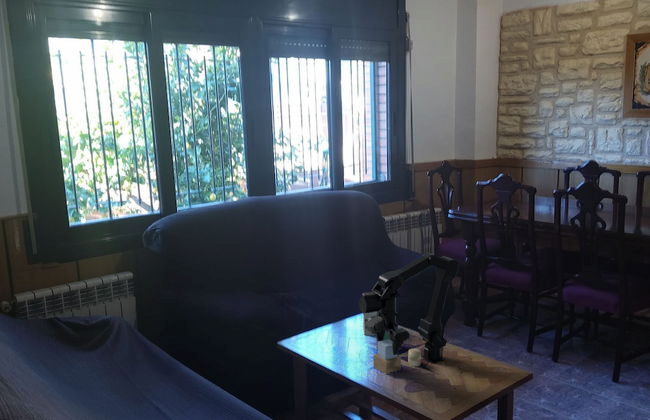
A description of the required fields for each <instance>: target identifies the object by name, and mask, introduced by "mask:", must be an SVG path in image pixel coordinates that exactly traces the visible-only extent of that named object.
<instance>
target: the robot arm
mask: <svg viewBox="0 0 650 420" xmlns="http://www.w3.org/2000/svg"><path fill="white" fill-rule="evenodd" d="M431 266H432V267H435V268H434V272H435V277H436V280H435V285H434V289H433V291H432V292H433V293H432V295H431V300H430V303H429V308H428V311H427V315H426V316H425V318H420V320H419V325H418V327H417V329H418V334H419V335H420V337H421V339H422V341H424V347H423V355H422V354H421V358H422V359H424V360H425V361H428V362H430V363H431V364H435V363H437V362H442V361H445V360H446V357H444V356H443V355H444V354H443V353H444V347H446V346H447V343H448V341H447V339H446V338H445V337H444V336H442V330H443V326H442V322H441V318H442V314H443V311H444V307H445V303H446V298H447V295H448V290H449V286H450V284H451V282H452V281H453V280H454V279H455V278H456V276H457V274H458V271H459V267H460V265H459V262H458V261H457V260H455V259H453V258H450V257H447V256H445V255H442V256H440V257H439V256H437V255H435V254H433V253H430V252H425V253H423V254H422V255H421V256H419V257H417V258H416V259H414V260H413V261H411V262H409V263H407V264H406V265H404V266H402V267H401V268H398V269H396V270H395V269H394V270H390V271H387V272H384V273H381V274H380V275H379V276H378V279H377V281H376V283H375V284H374V286H373V287H372V289H371V292H373V293H369V292H368V293H369V294H363V293H362V295H361V297H360V299H359V301H358V305H359V306H358V307H359V310H360V313H362V314H365V313H371V312H377V311H378V312H377V316H373V317H369V318H368V320H367V322H366V323H365V324H366V327H367V330H368V331H369V332H371V333H372V334H375V335H374V336H375V337H376V338H377V341H378V342H379V341H383V339H384V334H385V330H387V331H389V332H390V333H389V336H390V340H391V341H392V347H393V355H396V354H397V355H398V353H399V350H400V349H401V347H402V345H403V343H404V342H405V341H406V340H408V339H410V332H409V331H408V330H407V329H405V328H403V327H399V323H398V322H397V321H396V319H397V316H399V312H398V311H397V298H400V297H402V296H403V295H402V294H401V293H400V292H399V290H400V289H401V288H402V287H403V285H404V284H405V282H406V281H408V280H409V279H411V278H413V277H415V276H417V275H418V274H420V273H421V272H423V271H425V270H427V269H428V268H430V267H431ZM396 326H398V329H396V328H395V327H396Z"/></svg>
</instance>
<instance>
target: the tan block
mask: <svg viewBox="0 0 650 420" xmlns="http://www.w3.org/2000/svg"><path fill="white" fill-rule="evenodd" d="M401 361H402V356H400V355H398V354H397V357H395V358H391V359H387V360H385V359H383V358H382V357H380V356H379V355H378V353H375V354H373V368H374V367H375V368H374V369H376V370H377V369H378V370H377V371H379V370H380V372H381V371H382V372H381V373H383V374H384V373H385V374H384V375H388V373H389V374H391V373H390V372H392V373H394V371H395V372H397V371H400V370H401V369H402V367H401V365H402V362H401Z"/></svg>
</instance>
